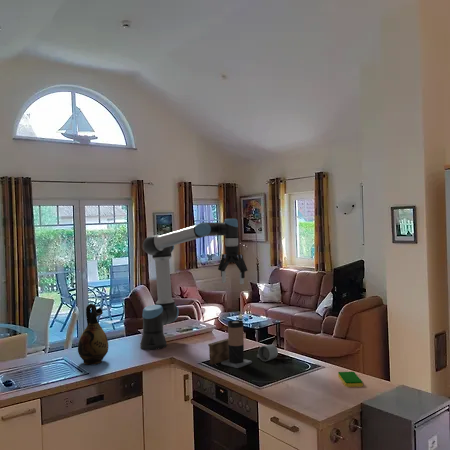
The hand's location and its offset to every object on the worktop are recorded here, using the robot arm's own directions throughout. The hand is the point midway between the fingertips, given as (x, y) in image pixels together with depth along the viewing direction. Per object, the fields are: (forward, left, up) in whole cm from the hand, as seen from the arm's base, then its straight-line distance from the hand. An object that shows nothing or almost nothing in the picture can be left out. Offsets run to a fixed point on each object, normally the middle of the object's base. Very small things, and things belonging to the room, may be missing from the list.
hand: (232, 283), depth 255 cm
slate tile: (+20, -21, -37) cm, 47 cm away
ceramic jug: (-41, -65, -37) cm, 85 cm away
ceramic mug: (+27, -6, -37) cm, 46 cm away
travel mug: (+20, -21, -36) cm, 46 cm away
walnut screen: (+11, -21, -37) cm, 44 cm away
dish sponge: (+76, -10, -37) cm, 85 cm away
